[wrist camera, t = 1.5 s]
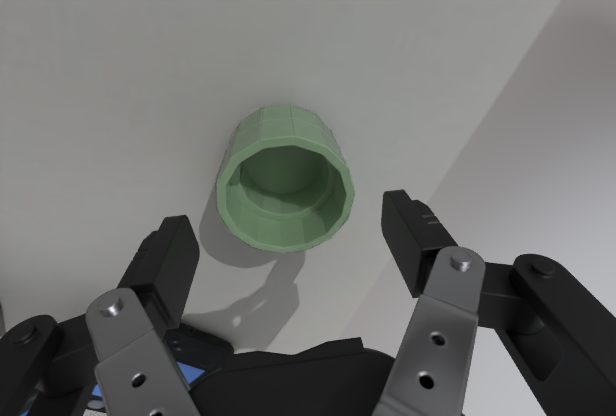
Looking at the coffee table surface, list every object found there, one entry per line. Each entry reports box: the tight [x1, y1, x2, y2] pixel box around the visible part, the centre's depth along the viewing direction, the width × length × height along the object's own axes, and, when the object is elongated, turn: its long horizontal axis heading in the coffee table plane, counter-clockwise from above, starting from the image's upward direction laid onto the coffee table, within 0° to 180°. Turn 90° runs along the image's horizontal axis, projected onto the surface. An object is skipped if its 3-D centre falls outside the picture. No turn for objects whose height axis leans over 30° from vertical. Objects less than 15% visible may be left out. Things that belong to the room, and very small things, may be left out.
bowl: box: [216, 104, 355, 253], centre depth 15 cm, size 6×6×5 cm
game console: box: [20, 324, 234, 416], centre depth 23 cm, size 16×14×9 cm
